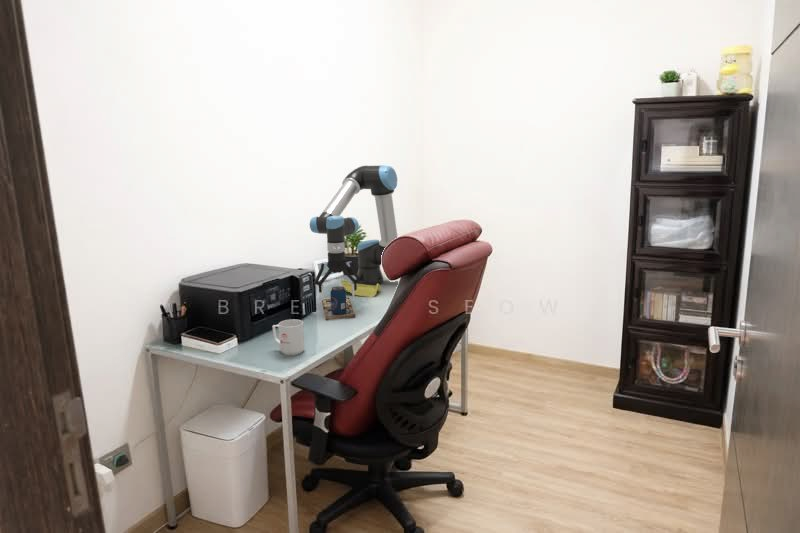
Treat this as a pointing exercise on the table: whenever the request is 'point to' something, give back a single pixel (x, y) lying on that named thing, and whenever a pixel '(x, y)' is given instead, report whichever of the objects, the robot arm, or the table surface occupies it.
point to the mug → (290, 336)
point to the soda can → (338, 301)
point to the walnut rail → (327, 317)
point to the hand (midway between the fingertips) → (338, 298)
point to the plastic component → (362, 289)
